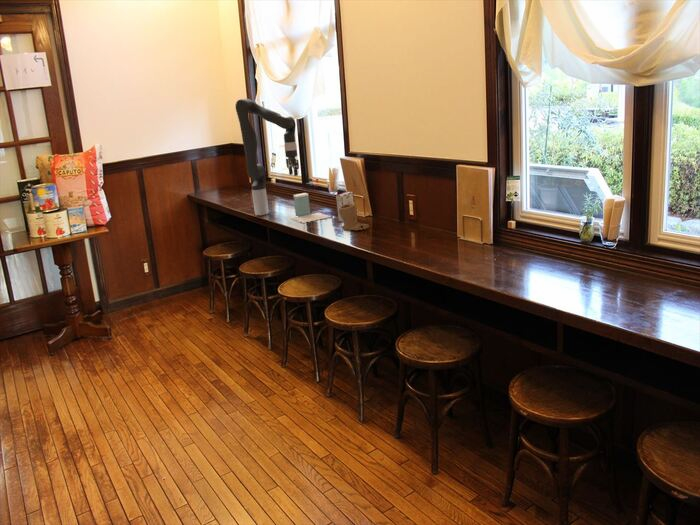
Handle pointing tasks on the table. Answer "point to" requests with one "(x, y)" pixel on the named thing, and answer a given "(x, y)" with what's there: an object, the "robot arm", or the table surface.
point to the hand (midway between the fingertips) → (293, 175)
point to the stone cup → (350, 217)
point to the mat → (311, 217)
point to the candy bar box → (344, 201)
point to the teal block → (301, 204)
